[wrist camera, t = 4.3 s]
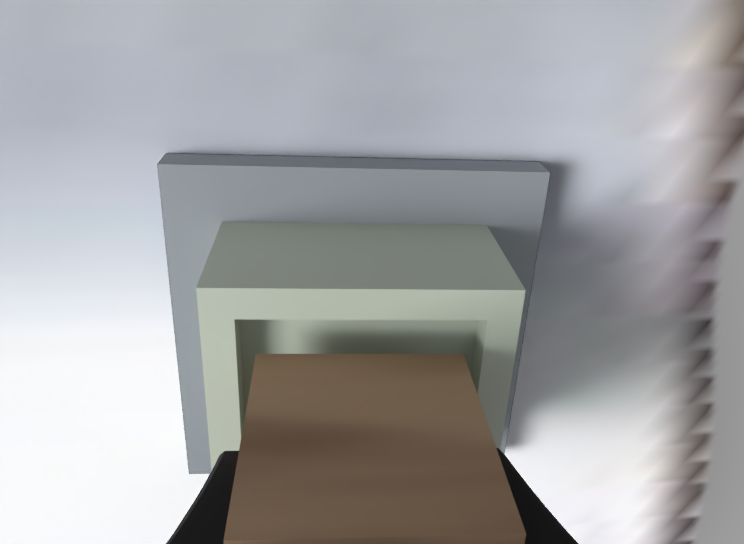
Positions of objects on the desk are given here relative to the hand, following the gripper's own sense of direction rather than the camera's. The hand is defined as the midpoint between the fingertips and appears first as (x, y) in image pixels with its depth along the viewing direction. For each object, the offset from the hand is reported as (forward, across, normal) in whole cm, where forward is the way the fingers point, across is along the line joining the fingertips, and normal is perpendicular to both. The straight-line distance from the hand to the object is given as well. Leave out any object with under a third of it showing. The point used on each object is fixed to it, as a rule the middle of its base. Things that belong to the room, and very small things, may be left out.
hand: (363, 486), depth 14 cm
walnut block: (+2, 0, 0) cm, 2 cm away
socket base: (+7, 0, 0) cm, 7 cm away
